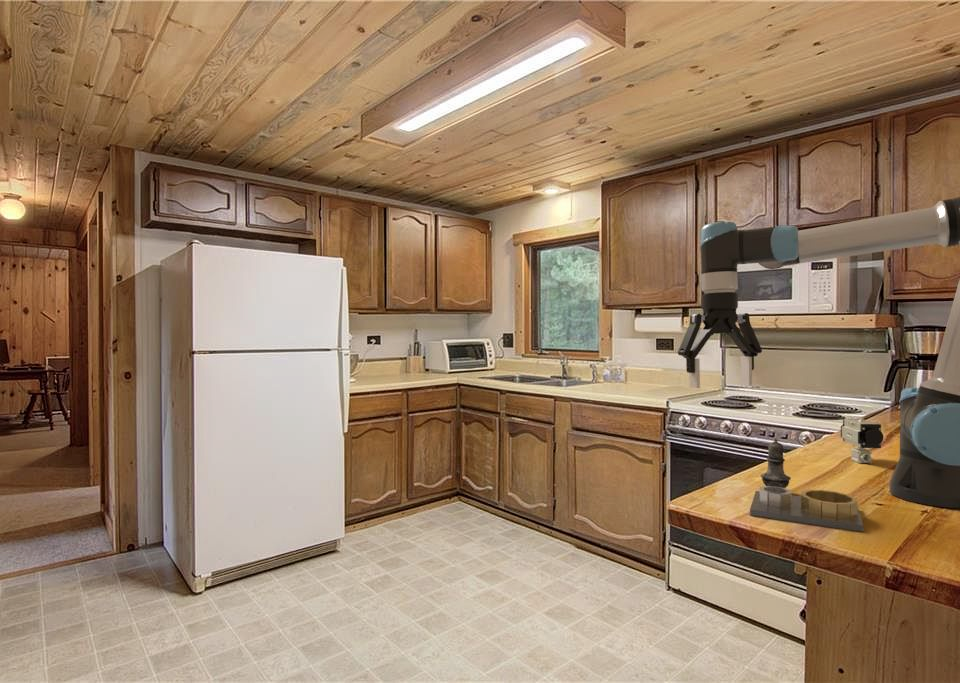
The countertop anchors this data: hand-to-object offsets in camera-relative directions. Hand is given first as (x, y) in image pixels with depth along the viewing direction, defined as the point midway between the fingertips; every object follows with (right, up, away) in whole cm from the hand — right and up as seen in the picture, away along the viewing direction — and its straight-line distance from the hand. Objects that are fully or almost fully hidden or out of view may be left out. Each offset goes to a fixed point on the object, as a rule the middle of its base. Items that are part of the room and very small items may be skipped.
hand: (720, 386), depth 127 cm
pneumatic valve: (+47, -22, +23) cm, 57 cm away
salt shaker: (+10, -23, -4) cm, 26 cm away
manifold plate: (+9, -23, -18) cm, 30 cm away
